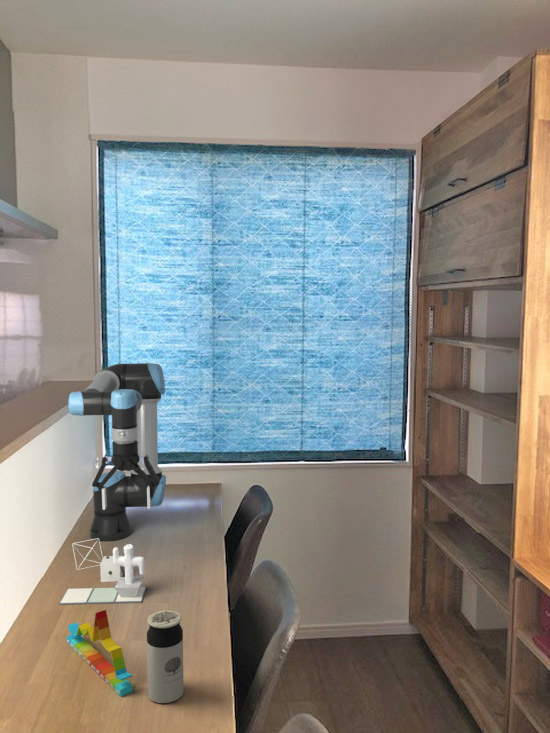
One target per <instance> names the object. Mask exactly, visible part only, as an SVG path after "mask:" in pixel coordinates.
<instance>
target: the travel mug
mask: <svg viewBox="0 0 550 733" xmlns="http://www.w3.org/2000/svg"><path fill="white" fill-rule="evenodd" d="M181 621H182V615H181V614H180V613H179V612H178V611H174V610H169V609H168V610H159V611H156V612H154V613H152V614H150V615H149V616H148V617H147V624H148V626H149V628H148V629H147V631H146V656H147V657H146V660H147V661H146V663H147V664H146V665H147V697H148V698H149V699H150V700H151V701H153V702H154V703H159V704H168V703H169V704H170V703H172V702H175V701H176V700H179V699H180V698H182V696H183V695H184V690H185V689H184V686H185V685H184V680H185V679H184V630H183V628H182V626H181Z"/></svg>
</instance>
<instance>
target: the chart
mask: <svg viewBox="0 0 550 733" xmlns="http://www.w3.org/2000/svg"><path fill="white" fill-rule="evenodd" d="M108 618H109V617H108V614H107V610H106V609H104V610H100V611H98V612H95V615H94V622H93V623H94V625H93V626H92V625H91V623H90V622H85V623H83V624H80V625H79V623H78V622H77V621H76V622H74V623H71V624H68V625H67V629H68V631H69V633H70V634H69V635H66V643H67V644H68V645H69V646H70V647H71V648H72V649H73V650H74V651H75V652H76V653H77V655H79V656H80V657H81V658H82V660H83V661H85V662H86V664H88V665H89V667H91V668H92V670H93V671H94V672H96V674H97V675H99V677H100V678H101V679H102V680H103V681H104V682H105V683H107V685H108V686H110V688H111V689H112V690H113V691H114V693H116V694H117V695H118V696H119V697H120V698H121V697H123V696H125V695H128V694H131V693H132V692H133V683H131V682H130V681H129V680H128V679H130V678H131V677H133V675H132V673H129V672H128V671H127V667H126V663H125V658H124V654H123V650H122V649H123V648H122V647H121V646H120V645H117V643H116V642H115V640H114V638H112V635H111V628H110V625H109V619H108ZM88 635H89V637H90V640H91V642H92V643H93V642H96V641H100V642H101V644H102V646H103V648H104V650H106V651H107V652H109V653H110V656H111V659H112V664H113V665H112V664H111V663H110V662H109V660H107V659H106V658H105V657H104V656H103V655H101V654H100V652H98V650H96V649H95V647H94V646H92V645H91V644H90V643H89V642H88V641H87V640H86V639H85V638H83V637H86V636H88Z"/></svg>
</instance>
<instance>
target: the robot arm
mask: <svg viewBox="0 0 550 733" xmlns="http://www.w3.org/2000/svg"><path fill="white" fill-rule="evenodd" d="M164 394H166V382H165V376H164V371H163V368H162V365H160V364H159V363H151V362H145V363H143V362H142V363H117V364H113V365H110V366H107V367H105V368H102V369H101V370H100V371H98V372H97V373H96V374H95V375H94V377H93V379H92V382H91V383H90V384H89V385H88V386H87V387H85V389H84V390H83V391H80V390H78V391H71V392H70V394H69V396H68V403H67V404H68V412H69V413H70V414H71V415H72V416H80V417H83V416H111V440H112V441H113V442H112V443H111V444H112V456H108V455H107V454H106V455H104V456H103V457H101V458H102V459H101V464H100V467H99V469H98V471H97V474H96V475H95V477H94V479H93V482H92V484H91V486H92V487H93V489H92V492H93V511H94V512H93V519H92V522H91V525H90V529H89V537H90V539H95V541H97V540H98V542H99V541H100V542H101V541H102V542H110V541H111V542H113V541H118V540H121V539H125V538H127V537H129V536H130V535H131V534H132V525H131V523H130V520H129V517H128V515H127V510H126V508H147V509H148V510H150V509H151V508H152V507H153V508H154V507H160V506H161V505H162V504H163V502H164V498H165V492H166V484H167V476H166V475H164V474H163V470H162V469H161V467H159V463H158V462H159V458H158V457H159V455H158V454H159V453H158V452H159V450H158V449H159V447H158V443H159V442H158V439H159V438H158V436H159V435H158V403H159V402H160V401H161V400H162V396H163V395H164ZM110 462H111V463H112V464H113V465H114V466H113V467H112V468H111V469H110V471H108V472H104V470H105V468H106V466H107V465H108V464H109V463H110ZM125 471H127V472H130V475H126V473H125ZM103 472H104V473H103ZM147 509H146V510H147ZM97 538H99V539H97Z"/></svg>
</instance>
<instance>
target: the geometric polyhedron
mask: <svg viewBox="0 0 550 733" xmlns="http://www.w3.org/2000/svg"><path fill="white" fill-rule="evenodd" d="M97 539H99V538H97ZM94 540H95V539H92V538H90V539H88V540H83V541H77V542H72V545H71V546H72V551H73V552H75V550H76V551H77V552H78V553H79V555H80V556H81V557H82V562H81V563H80V565H79V566H78V565H77V560H76V553H73V555H74V562H75V567H76V570H77V571H79V570H83V569H85V567H83V568H80V567H81V566H82V564H83V562H84V561H90V562H94V563H97V564H96V565H92V566H91V565H90V566H87V567H86V569H89V568H93V567H97V566H98V567H99V564H100V562H99V561H95V560H91V559H87V557H88V556H89V555H90V552H92V550H93V552H94V553H95V554H96V556H97V558H98V559H99V560H100V561H101V562H102V560H103V558H104V556H103V552H102V547H101V541H99V540H95V543H94V544H93V546H92V547H89V546H86V545H82V544H78V543H83V542H88V541H94ZM97 542H98V543H99V548H100V552H101V558H102V559H101V558H100V556H99V555H98V553H97V552H96V550H94V547H95V546H96V544H97ZM76 546H80V547H84V548H89V549H90V550H89V551H88V552H87V554H86V556H85V557H84V556H83V555H82V554H81V553H80V551H79V549H78V548H77V547H76ZM74 549H75V550H74Z"/></svg>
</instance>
